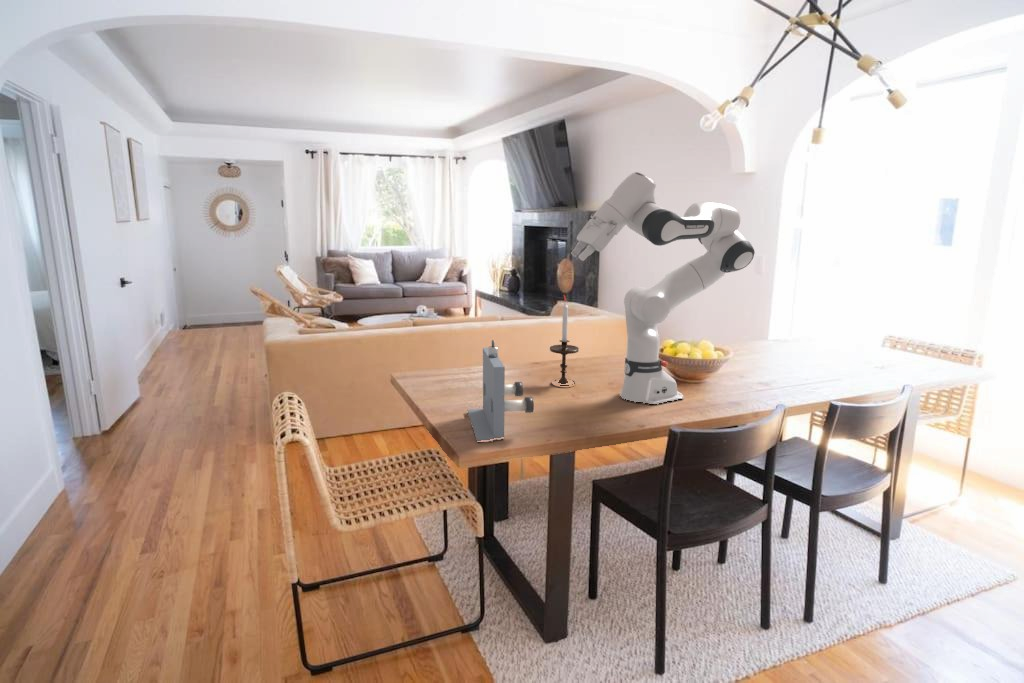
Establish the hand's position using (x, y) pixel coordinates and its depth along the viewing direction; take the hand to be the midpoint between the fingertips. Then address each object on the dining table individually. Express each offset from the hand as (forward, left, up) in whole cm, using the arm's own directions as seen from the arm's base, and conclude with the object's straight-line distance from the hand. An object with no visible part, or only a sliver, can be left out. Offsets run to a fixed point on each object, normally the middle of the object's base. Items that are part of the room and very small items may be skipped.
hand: (576, 257), depth 169 cm
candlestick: (-15, -42, -52) cm, 69 cm away
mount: (+25, -8, -52) cm, 58 cm away
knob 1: (+16, -15, -45) cm, 50 cm away
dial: (+23, -8, -30) cm, 38 cm away
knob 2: (+19, +1, -45) cm, 49 cm away
